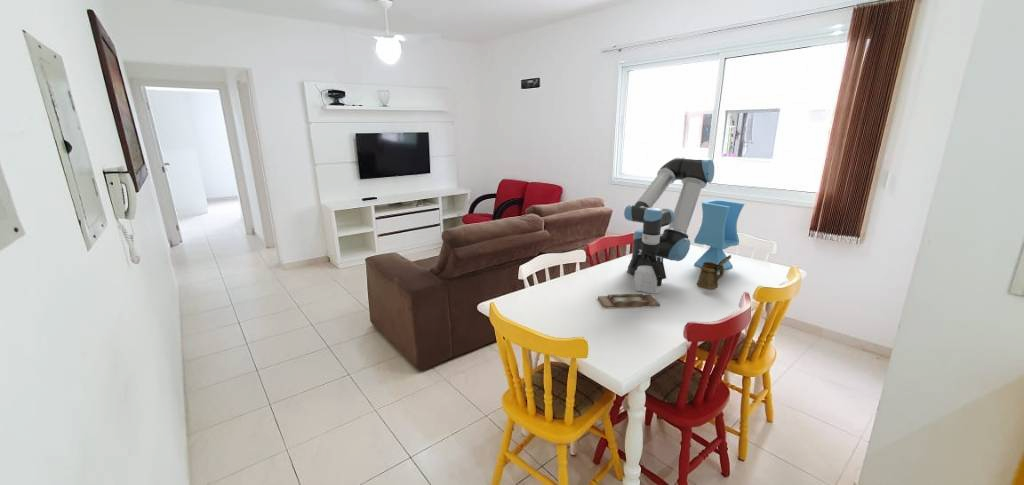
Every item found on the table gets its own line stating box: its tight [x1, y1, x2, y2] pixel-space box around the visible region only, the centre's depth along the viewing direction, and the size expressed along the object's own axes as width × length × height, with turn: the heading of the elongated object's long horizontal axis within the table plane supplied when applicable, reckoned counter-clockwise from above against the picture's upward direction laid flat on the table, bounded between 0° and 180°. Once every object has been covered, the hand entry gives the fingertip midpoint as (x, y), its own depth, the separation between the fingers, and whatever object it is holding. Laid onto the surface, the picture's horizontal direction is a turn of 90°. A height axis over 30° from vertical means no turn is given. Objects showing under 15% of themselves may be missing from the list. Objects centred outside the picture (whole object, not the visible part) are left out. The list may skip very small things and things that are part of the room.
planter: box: [693, 199, 745, 273], centre depth 214 cm, size 16×16×35 cm
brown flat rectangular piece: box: [597, 293, 661, 308], centre depth 175 cm, size 24×10×3 cm, turn 93°
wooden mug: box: [696, 254, 732, 291], centre depth 188 cm, size 9×14×18 cm, turn 35°
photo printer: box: [634, 266, 658, 295], centre depth 185 cm, size 10×4×12 cm, turn 61°
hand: (646, 287), depth 187 cm, fingers open, 12 cm apart
